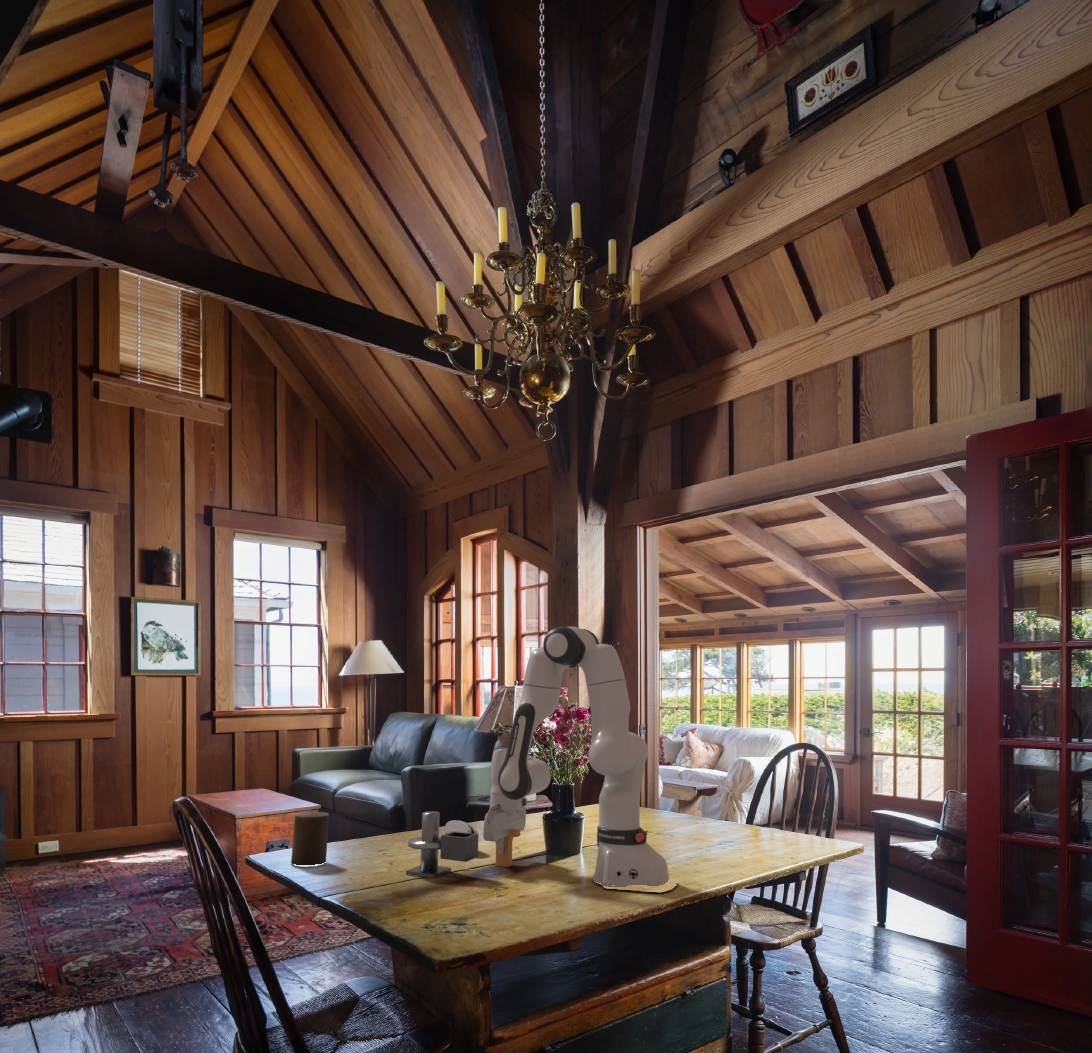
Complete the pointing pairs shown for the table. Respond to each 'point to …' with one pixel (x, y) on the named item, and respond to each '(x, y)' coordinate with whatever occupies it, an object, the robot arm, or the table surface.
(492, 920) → the table surface
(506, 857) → the orange t-shaped block
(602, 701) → the robot arm
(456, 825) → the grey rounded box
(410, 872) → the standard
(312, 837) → the pillar candle
